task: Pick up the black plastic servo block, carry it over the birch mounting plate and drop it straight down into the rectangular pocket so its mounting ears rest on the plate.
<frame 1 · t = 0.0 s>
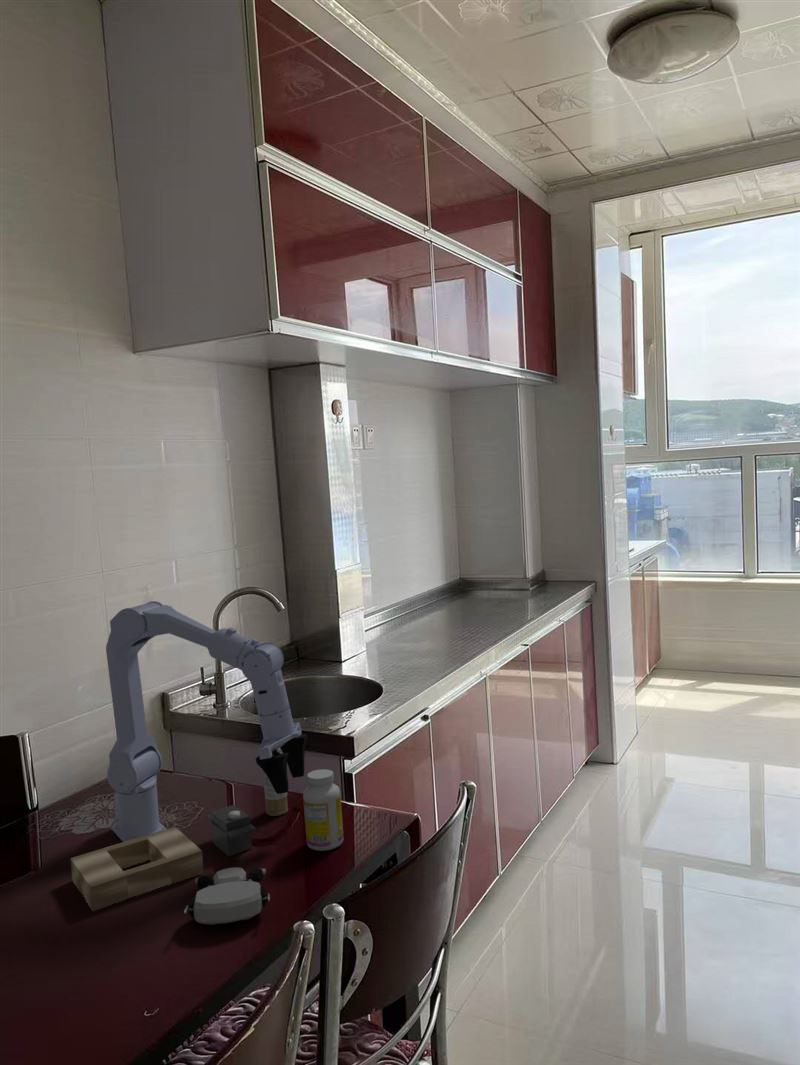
hand: (290, 784, 142), 11 cm above the table, tool pointing down, fingers open, 7 cm apart
sprinkles bottle: (277, 813, 156), on the table
mounting plate: (137, 877, 133), on the table
robot toy: (230, 910, 121), on the table
supplement bottle: (325, 845, 141), on the table
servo: (232, 846, 142), on the table
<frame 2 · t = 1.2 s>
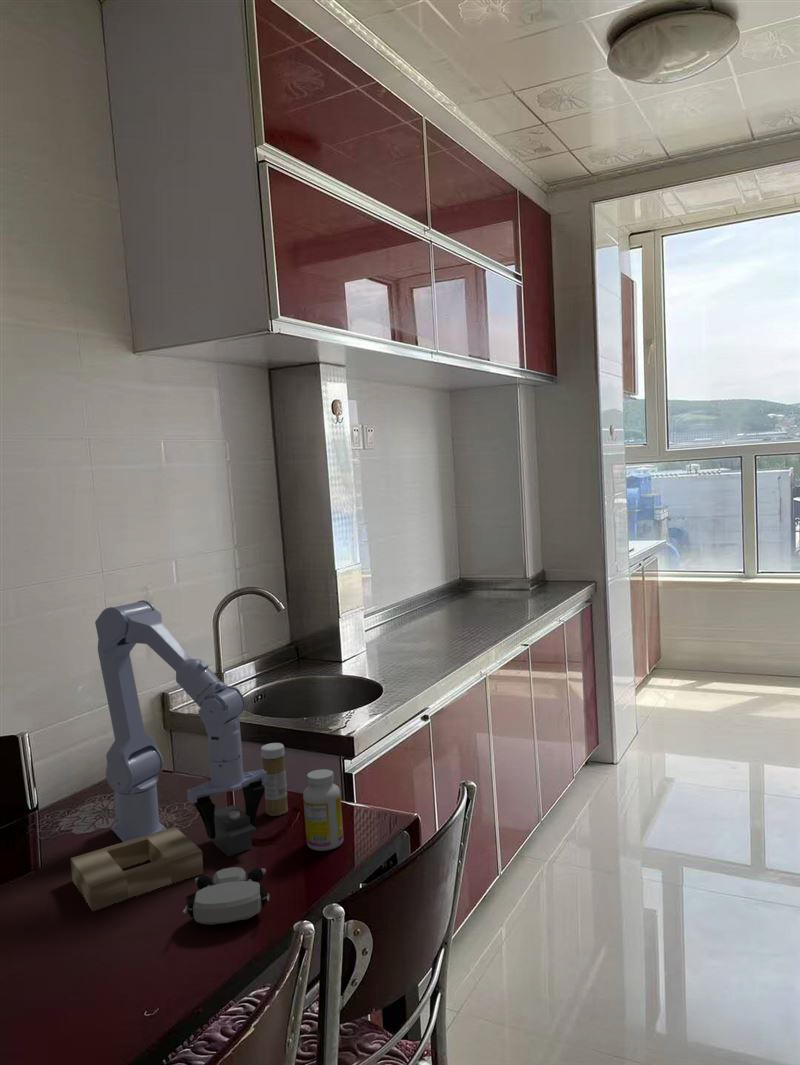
hand: (231, 830, 142), 3 cm above the table, tool pointing down, fingers open, 7 cm apart
nothing on the table moved.
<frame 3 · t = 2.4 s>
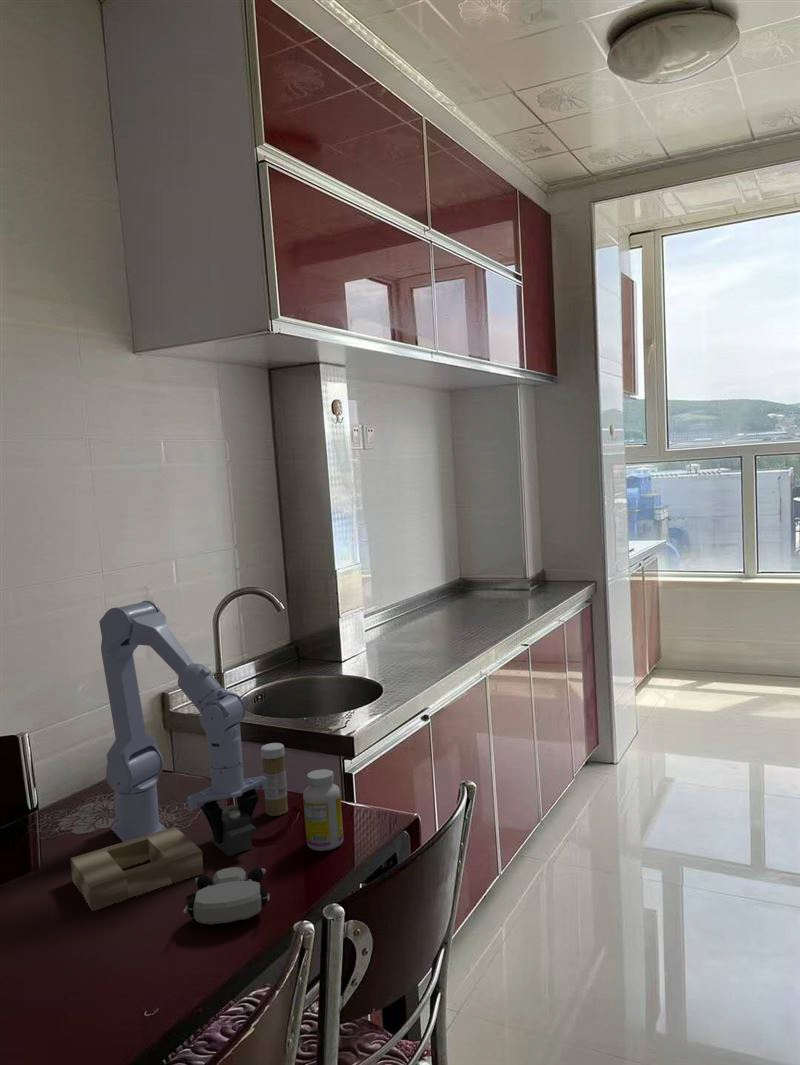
hand: (231, 837, 142), 2 cm above the table, tool pointing down, fingers closed on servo, 4 cm apart
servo: (232, 845, 142), on the table, touching gripper
everything else where it was.
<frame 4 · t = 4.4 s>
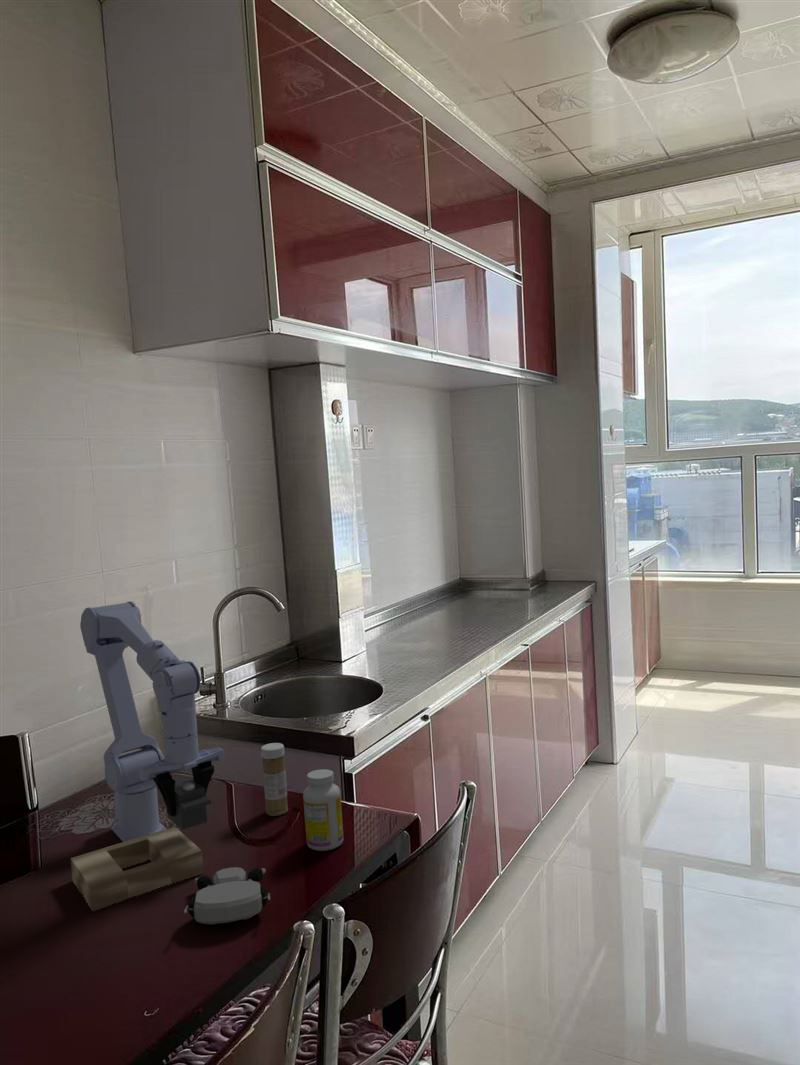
hand: (186, 810, 137), 9 cm above the table, tool pointing down, fingers closed on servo, 4 cm apart
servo: (187, 819, 137), point 7 cm above the table, touching gripper
everything else where it was.
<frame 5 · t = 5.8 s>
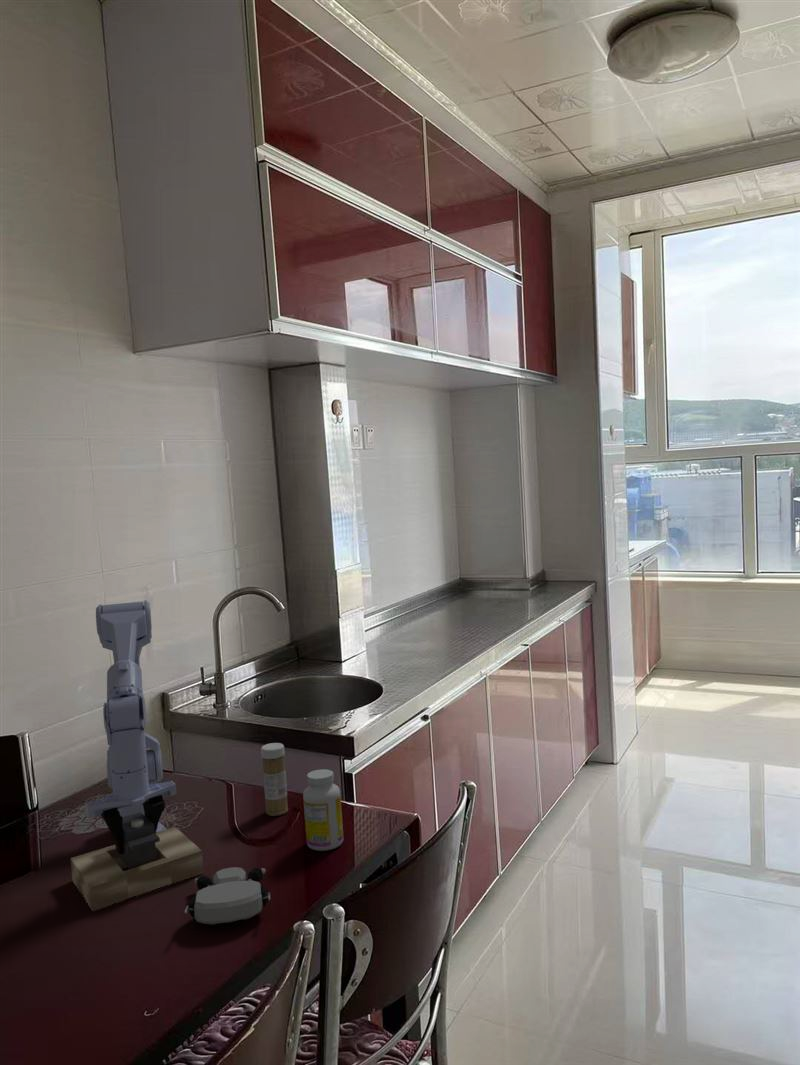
hand: (135, 847, 132), 5 cm above the table, tool pointing down, fingers closed on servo, 4 cm apart
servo: (136, 856, 132), point 4 cm above the table, touching gripper
everything else where it was.
when the fingers open (5 cm above the table, at t = 6.8 s): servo drops 3 cm, resting on mounting plate.
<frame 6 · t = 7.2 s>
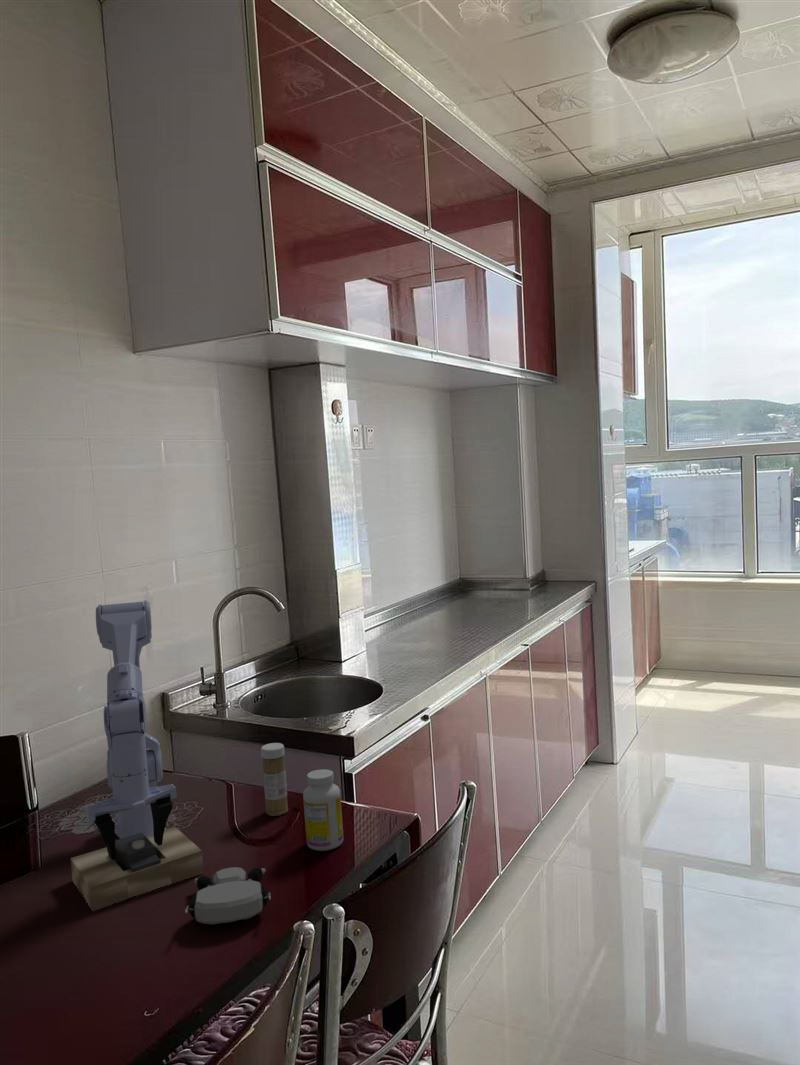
hand: (135, 850, 132), 5 cm above the table, tool pointing down, fingers open, 7 cm apart
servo: (137, 877, 132), resting on mounting plate
everything else where it was.
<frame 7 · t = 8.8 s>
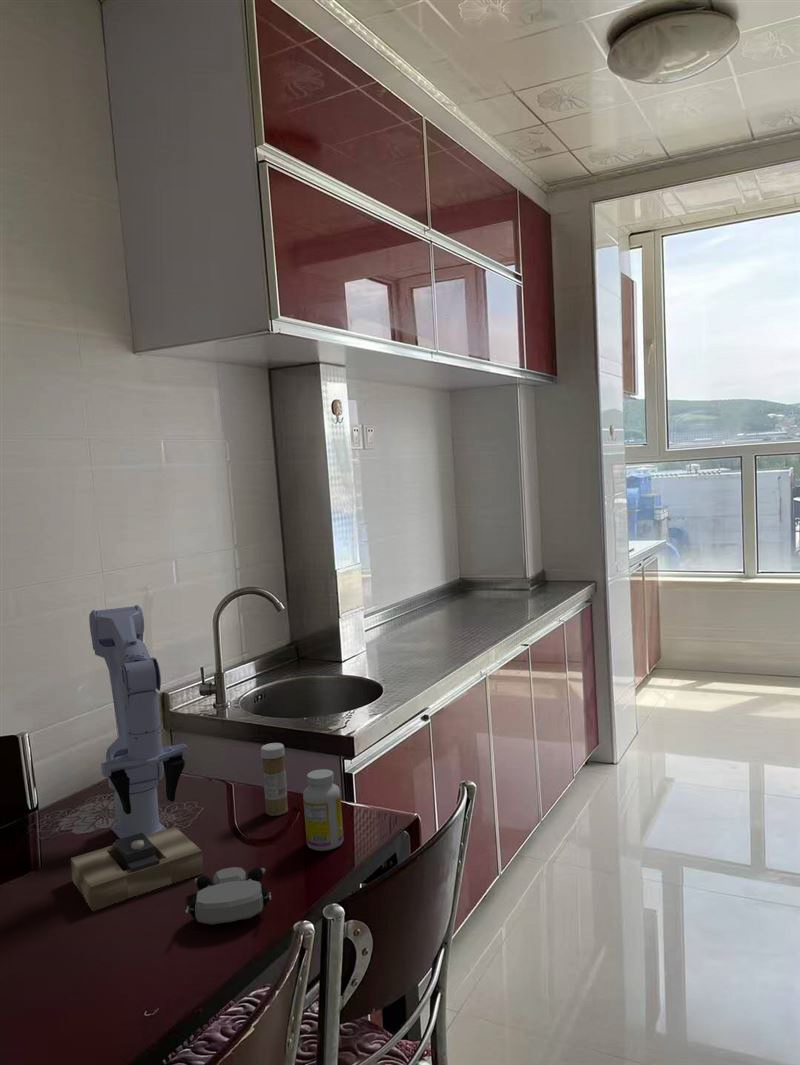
hand: (149, 806, 138), 10 cm above the table, tool pointing down, fingers open, 7 cm apart
nothing on the table moved.
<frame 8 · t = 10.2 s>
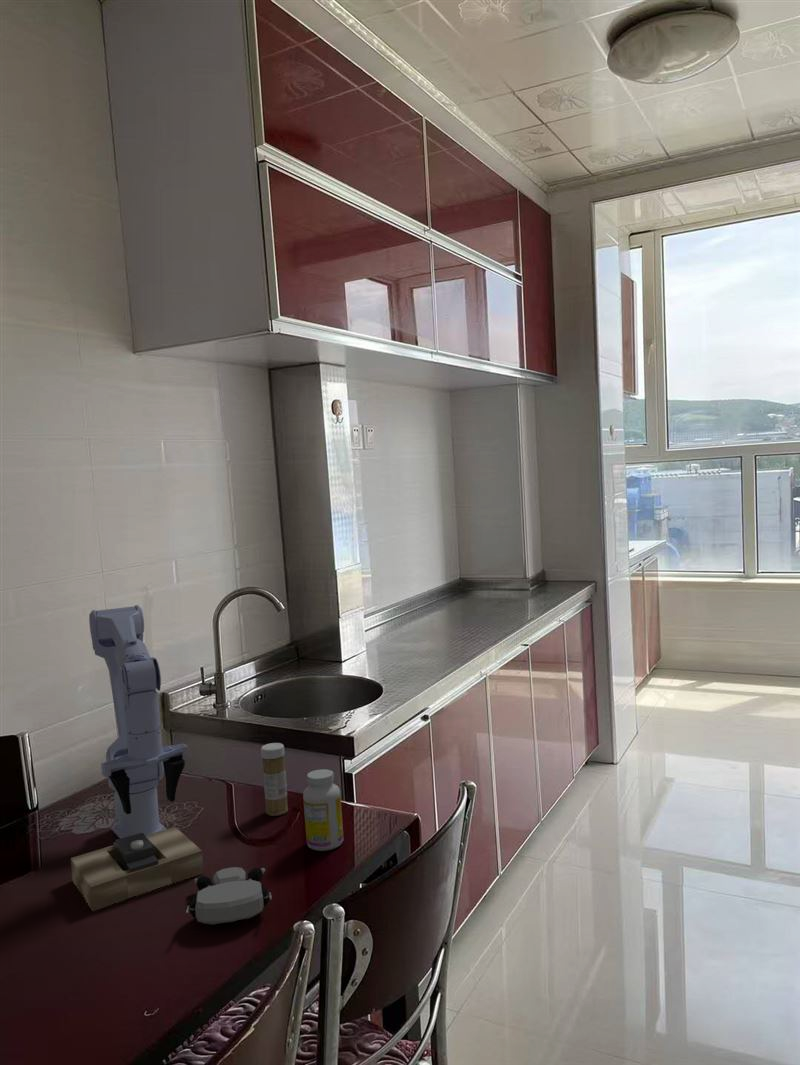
hand: (149, 806, 138), 10 cm above the table, tool pointing down, fingers open, 7 cm apart
nothing on the table moved.
at the end: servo 0.2 cm off-centre on the mounting plate, point 0.0 cm above the mounting plate's base; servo tilted 0°; the gripper is holding nothing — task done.
